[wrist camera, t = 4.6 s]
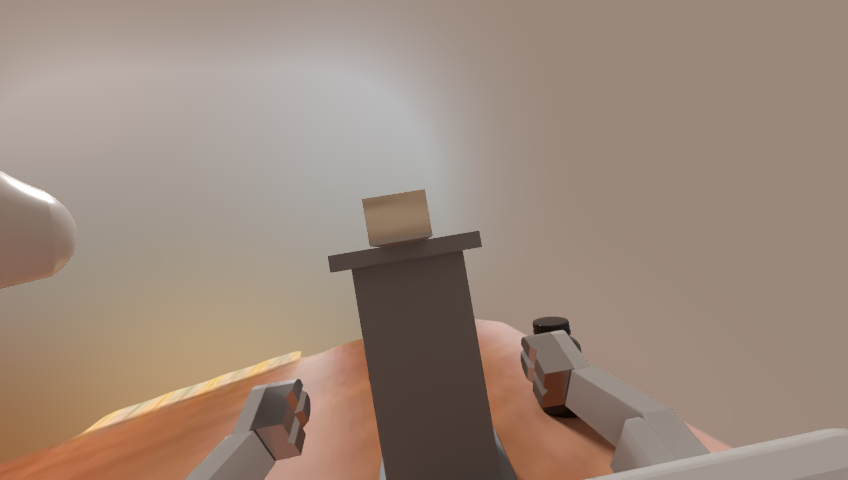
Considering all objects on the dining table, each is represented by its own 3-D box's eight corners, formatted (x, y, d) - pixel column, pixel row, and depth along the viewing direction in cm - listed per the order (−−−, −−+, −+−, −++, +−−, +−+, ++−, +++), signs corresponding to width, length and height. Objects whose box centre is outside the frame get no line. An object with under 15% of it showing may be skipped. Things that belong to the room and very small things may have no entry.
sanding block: (432, 235, 19) (424, 189, 19) (369, 246, 19) (361, 199, 19) (421, 242, 40) (417, 220, 40) (391, 247, 40) (387, 225, 40)
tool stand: (528, 512, 27) (479, 230, 28) (374, 545, 27) (327, 256, 27) (490, 427, 40) (457, 236, 41) (386, 448, 40) (354, 253, 40)
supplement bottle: (580, 425, 38) (563, 330, 38) (530, 409, 43) (515, 326, 43) (598, 399, 42) (583, 315, 43) (550, 388, 47) (537, 313, 48)
